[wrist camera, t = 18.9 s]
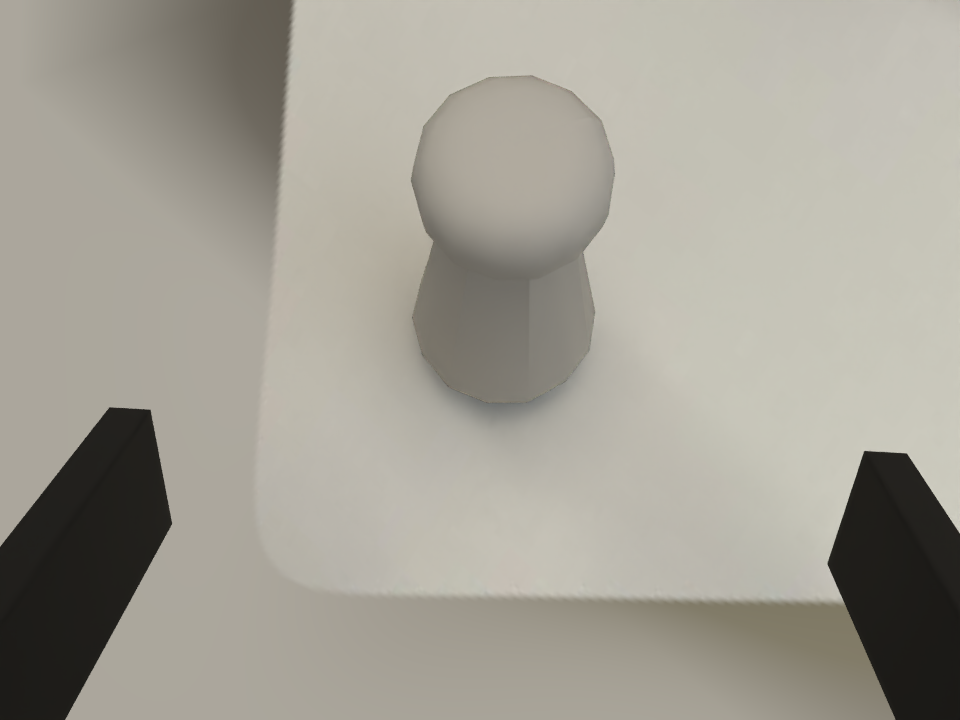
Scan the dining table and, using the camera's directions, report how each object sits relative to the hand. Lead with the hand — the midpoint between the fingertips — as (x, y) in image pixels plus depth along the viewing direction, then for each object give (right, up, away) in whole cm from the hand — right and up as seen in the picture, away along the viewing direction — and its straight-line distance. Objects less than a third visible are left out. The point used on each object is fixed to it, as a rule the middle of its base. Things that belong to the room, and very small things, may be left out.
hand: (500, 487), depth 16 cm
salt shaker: (0, +3, +14) cm, 14 cm away
